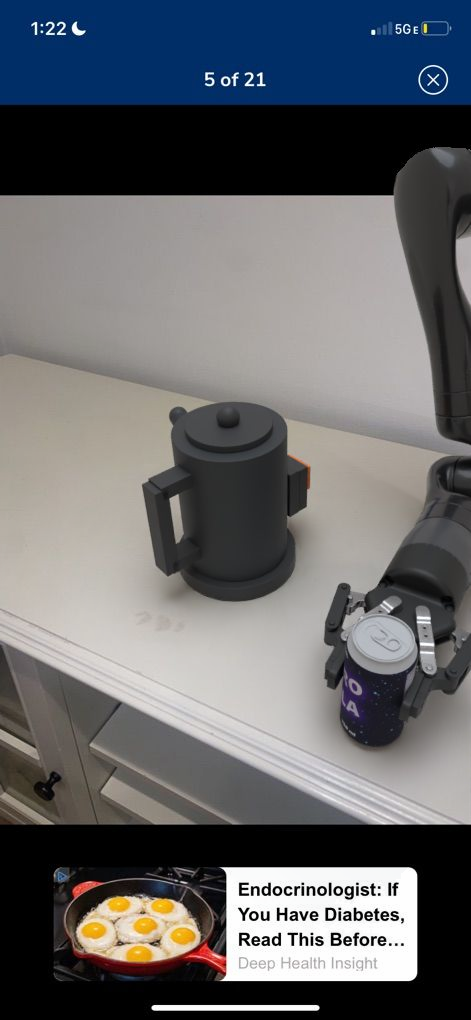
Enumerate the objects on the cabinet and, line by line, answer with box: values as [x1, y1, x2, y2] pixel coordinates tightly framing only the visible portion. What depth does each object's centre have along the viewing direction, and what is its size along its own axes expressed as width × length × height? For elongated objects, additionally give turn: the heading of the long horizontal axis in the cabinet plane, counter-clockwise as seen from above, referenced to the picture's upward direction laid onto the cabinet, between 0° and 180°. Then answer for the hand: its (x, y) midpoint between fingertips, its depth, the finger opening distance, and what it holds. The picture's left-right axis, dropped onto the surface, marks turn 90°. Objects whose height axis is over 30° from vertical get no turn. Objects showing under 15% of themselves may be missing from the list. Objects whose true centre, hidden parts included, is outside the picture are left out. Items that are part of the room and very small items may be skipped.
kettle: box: [141, 401, 308, 602], centre depth 69 cm, size 19×18×21 cm
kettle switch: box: [288, 454, 311, 490], centre depth 74 cm, size 1×4×3 cm, turn 39°
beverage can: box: [339, 614, 418, 748], centre depth 53 cm, size 6×6×12 cm
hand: (367, 698), depth 51 cm, fingers closed on beverage can, 5 cm apart
